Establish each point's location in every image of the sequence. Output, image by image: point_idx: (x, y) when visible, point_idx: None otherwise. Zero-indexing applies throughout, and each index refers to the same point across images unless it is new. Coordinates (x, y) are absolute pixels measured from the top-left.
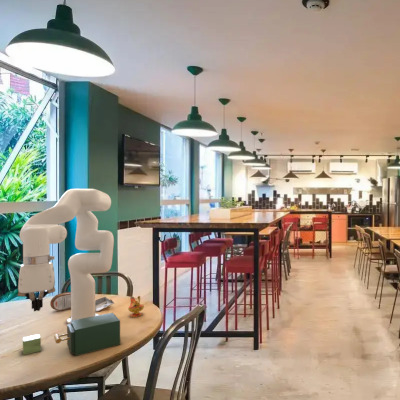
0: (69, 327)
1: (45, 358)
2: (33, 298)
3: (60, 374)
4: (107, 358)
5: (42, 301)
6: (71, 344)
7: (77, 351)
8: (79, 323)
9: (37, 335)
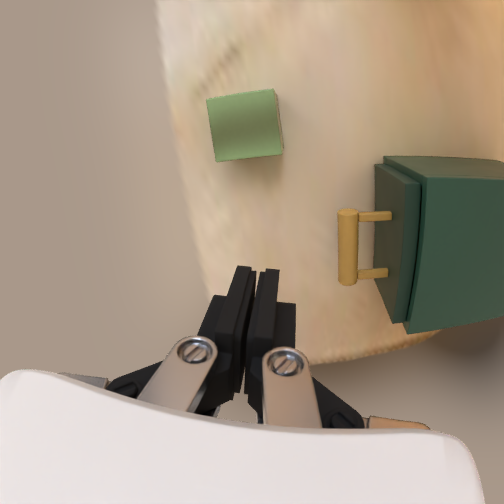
0: (405, 250)
1: (301, 238)
2: (210, 407)
3: (328, 361)
4: (429, 335)
5: (293, 343)
6: (381, 294)
7: None
8: (445, 259)
9: (266, 107)
